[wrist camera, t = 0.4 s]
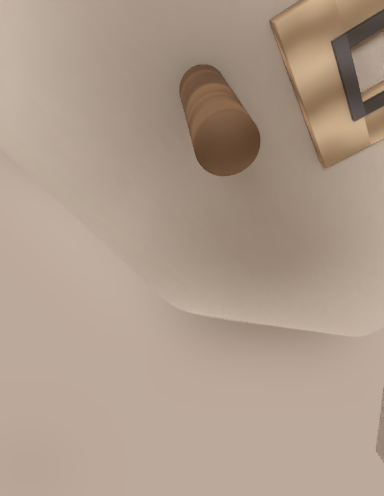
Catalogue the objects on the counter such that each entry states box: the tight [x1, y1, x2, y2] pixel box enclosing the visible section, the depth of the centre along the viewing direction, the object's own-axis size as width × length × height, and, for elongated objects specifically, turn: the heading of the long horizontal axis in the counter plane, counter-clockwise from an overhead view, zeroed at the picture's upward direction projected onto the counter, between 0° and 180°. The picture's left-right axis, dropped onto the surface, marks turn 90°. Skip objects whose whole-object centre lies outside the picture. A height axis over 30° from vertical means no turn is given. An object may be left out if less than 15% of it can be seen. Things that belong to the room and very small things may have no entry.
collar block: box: [269, 0, 384, 168], centre depth 34 cm, size 16×16×2 cm
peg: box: [180, 65, 260, 176], centre depth 29 cm, size 4×4×14 cm
